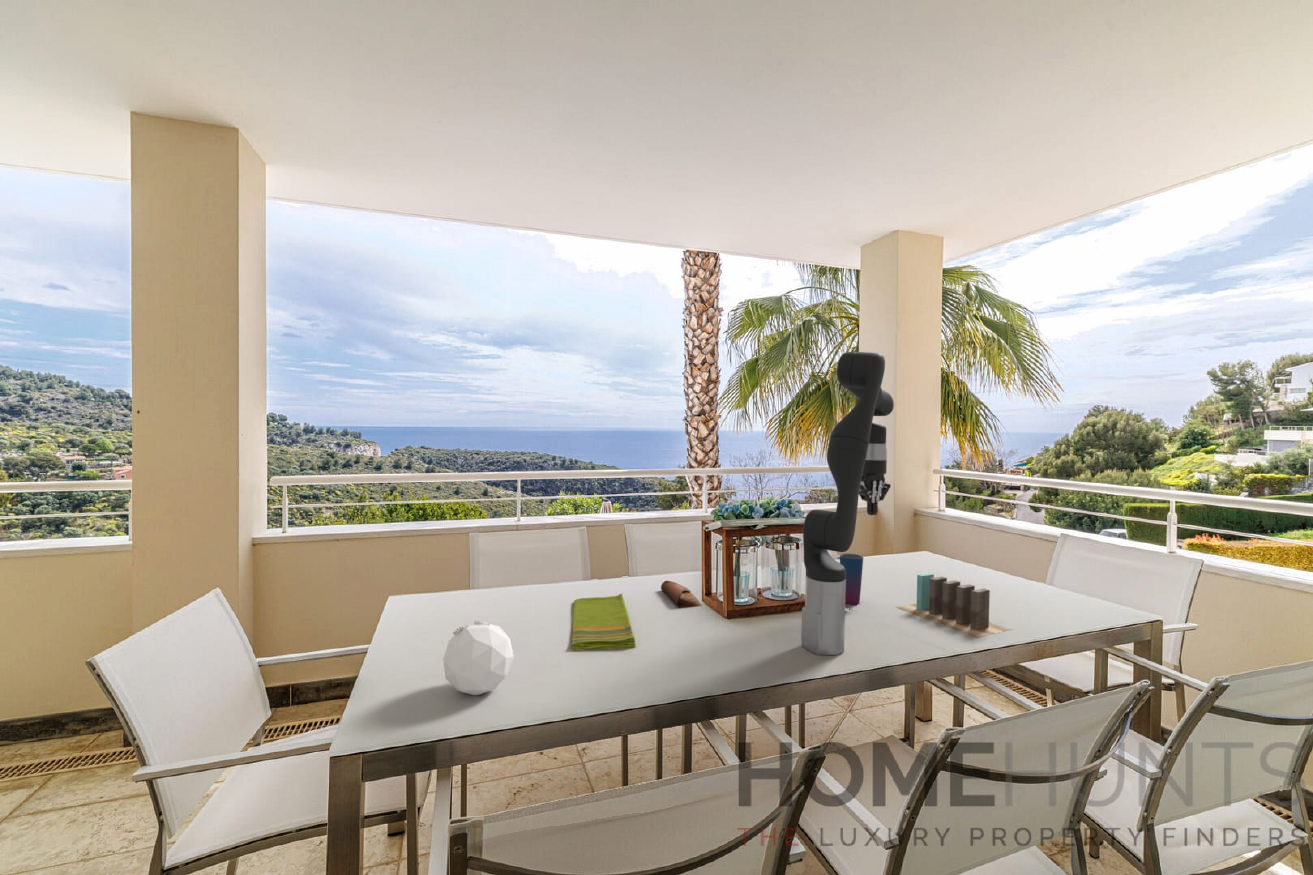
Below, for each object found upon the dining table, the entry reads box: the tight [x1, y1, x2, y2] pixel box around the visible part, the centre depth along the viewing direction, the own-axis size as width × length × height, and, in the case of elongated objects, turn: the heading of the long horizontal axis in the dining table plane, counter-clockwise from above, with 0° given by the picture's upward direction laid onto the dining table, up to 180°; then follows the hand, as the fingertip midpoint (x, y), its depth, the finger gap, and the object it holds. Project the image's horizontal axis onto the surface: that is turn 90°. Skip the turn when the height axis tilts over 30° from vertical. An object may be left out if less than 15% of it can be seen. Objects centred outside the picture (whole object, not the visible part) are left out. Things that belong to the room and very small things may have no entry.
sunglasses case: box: [660, 580, 703, 609], centre depth 171 cm, size 18×7×7 cm, turn 16°
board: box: [895, 603, 1012, 638], centre depth 153 cm, size 14×25×1 cm, turn 25°
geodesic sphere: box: [442, 620, 515, 696], centre depth 109 cm, size 14×14×14 cm
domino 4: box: [956, 583, 976, 625], centre depth 149 cm, size 5×2×10 cm, turn 115°
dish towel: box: [571, 593, 637, 651], centre depth 148 cm, size 15×36×3 cm, turn 8°
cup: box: [839, 552, 864, 608], centre depth 166 cm, size 7×7×15 cm
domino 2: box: [929, 576, 948, 615], centre depth 157 cm, size 5×2×10 cm, turn 115°
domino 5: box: [971, 588, 991, 630], centre depth 146 cm, size 5×2×10 cm, turn 115°
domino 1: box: [916, 572, 935, 610], centre depth 161 cm, size 5×2×10 cm, turn 115°
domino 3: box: [942, 580, 961, 620], centre depth 153 cm, size 5×2×10 cm, turn 115°
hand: (872, 514), depth 169 cm, fingers closed
